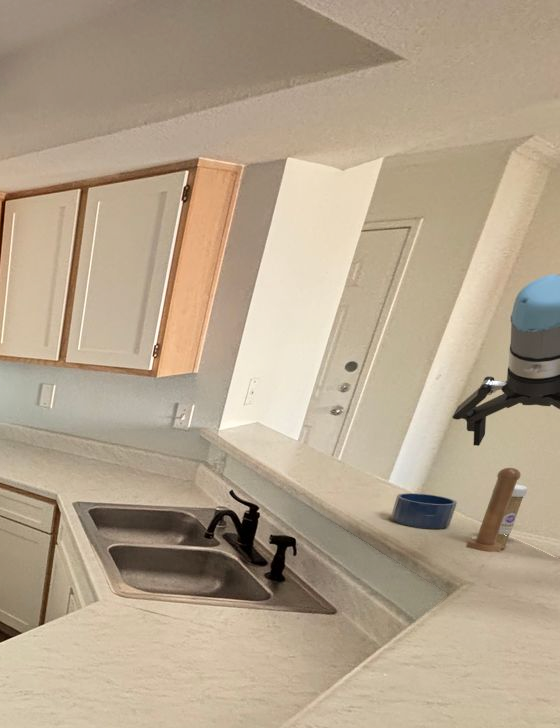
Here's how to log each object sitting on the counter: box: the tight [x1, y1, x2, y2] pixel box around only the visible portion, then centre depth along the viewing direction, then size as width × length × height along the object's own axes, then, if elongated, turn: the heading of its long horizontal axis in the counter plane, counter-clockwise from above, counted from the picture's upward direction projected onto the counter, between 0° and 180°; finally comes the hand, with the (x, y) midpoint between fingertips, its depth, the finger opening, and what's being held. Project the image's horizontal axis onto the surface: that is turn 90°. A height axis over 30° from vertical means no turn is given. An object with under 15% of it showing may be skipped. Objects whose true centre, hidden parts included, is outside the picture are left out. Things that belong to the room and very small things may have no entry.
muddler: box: [465, 467, 521, 553], centre depth 117 cm, size 5×5×18 cm
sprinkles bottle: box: [492, 484, 528, 550], centre depth 122 cm, size 5×5×14 cm
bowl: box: [390, 492, 458, 530], centre depth 139 cm, size 10×10×6 cm
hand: (532, 444), depth 106 cm, fingers open, 13 cm apart
